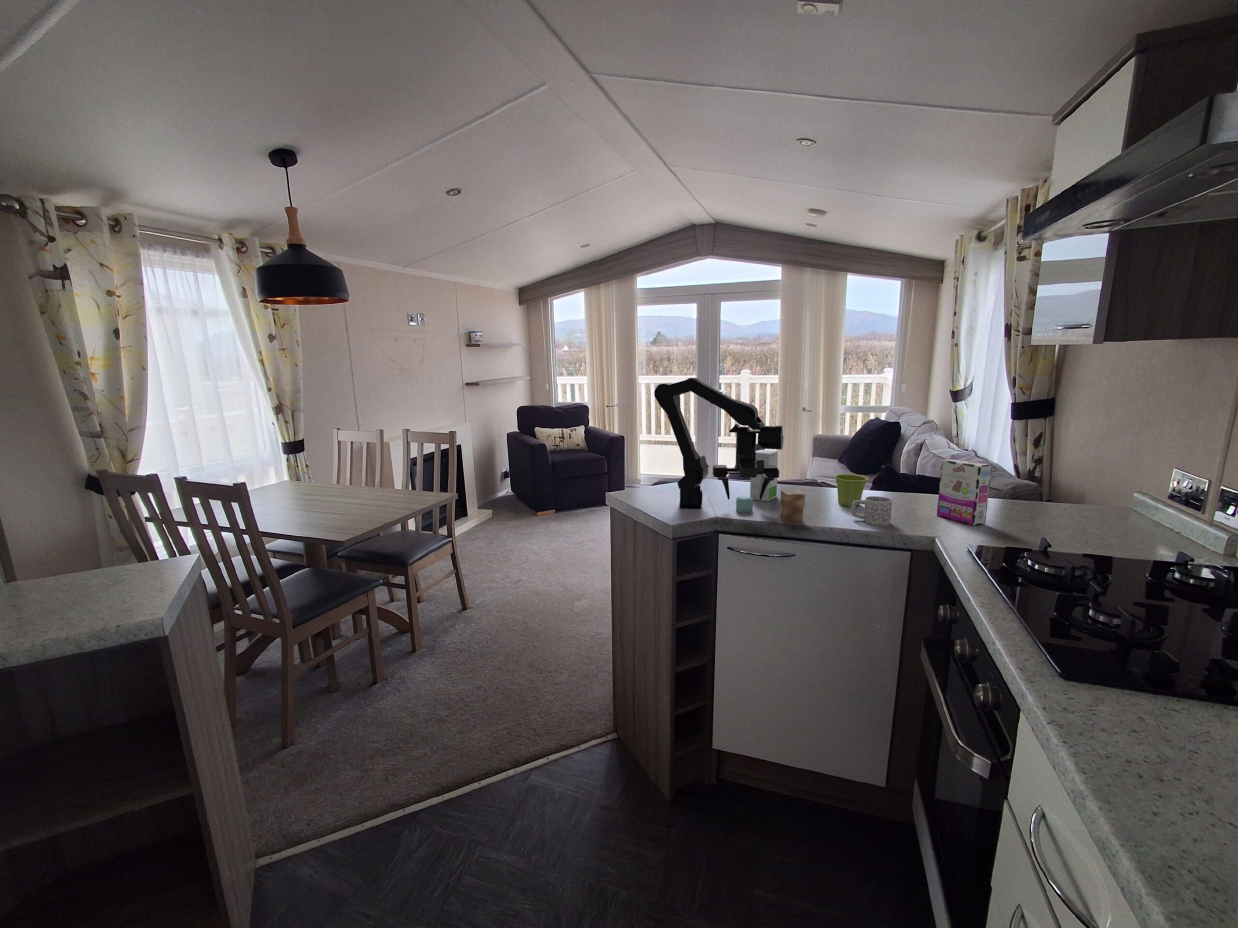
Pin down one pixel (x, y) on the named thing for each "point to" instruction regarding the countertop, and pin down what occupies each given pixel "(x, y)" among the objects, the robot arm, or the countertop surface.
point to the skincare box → (769, 459)
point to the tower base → (792, 514)
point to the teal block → (744, 504)
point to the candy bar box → (964, 491)
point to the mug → (874, 510)
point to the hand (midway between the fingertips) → (744, 499)
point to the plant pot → (849, 488)
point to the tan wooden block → (792, 499)
